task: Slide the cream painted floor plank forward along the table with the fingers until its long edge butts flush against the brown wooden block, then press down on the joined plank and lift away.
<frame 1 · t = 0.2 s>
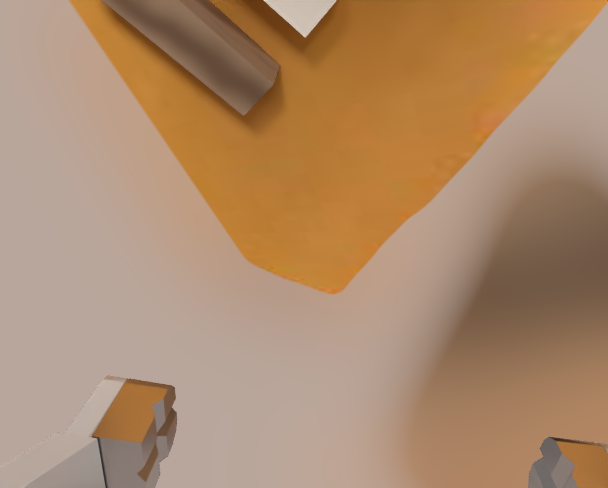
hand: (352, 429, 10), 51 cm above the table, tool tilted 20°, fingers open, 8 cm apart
brown wooden block: (193, 18, 55), on the table
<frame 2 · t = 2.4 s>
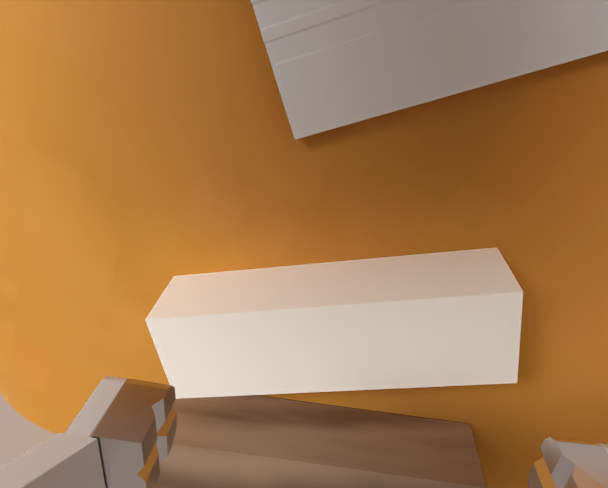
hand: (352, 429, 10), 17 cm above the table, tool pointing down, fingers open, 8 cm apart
brown wooden block: (315, 431, 35), on the table
cream floor plank: (333, 300, 30), on the table
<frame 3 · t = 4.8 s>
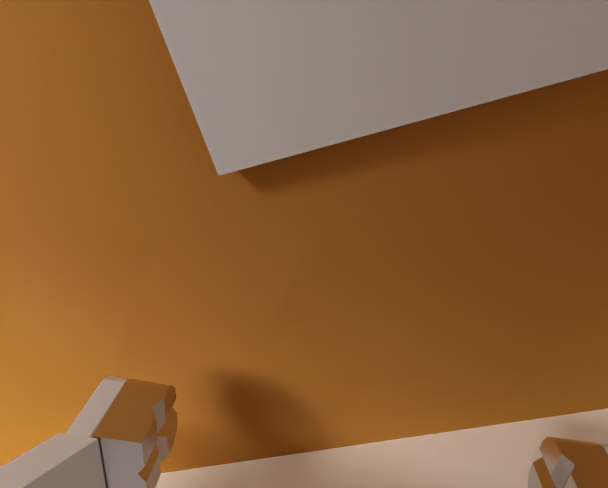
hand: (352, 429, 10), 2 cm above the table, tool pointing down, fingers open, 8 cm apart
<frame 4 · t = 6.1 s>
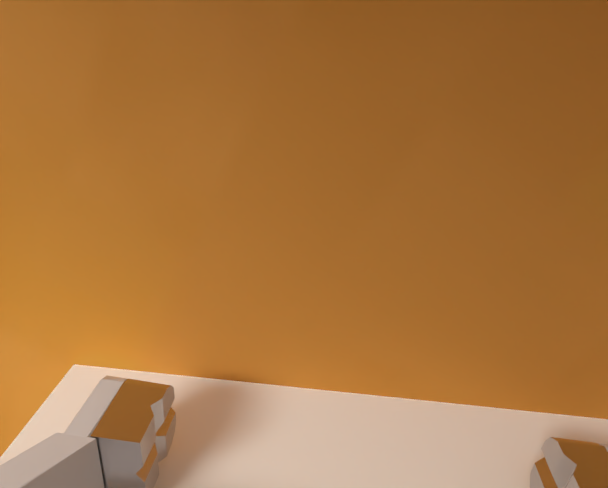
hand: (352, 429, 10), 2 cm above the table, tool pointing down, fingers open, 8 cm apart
cream floor plank: (409, 467, 14), on the table, touching gripper
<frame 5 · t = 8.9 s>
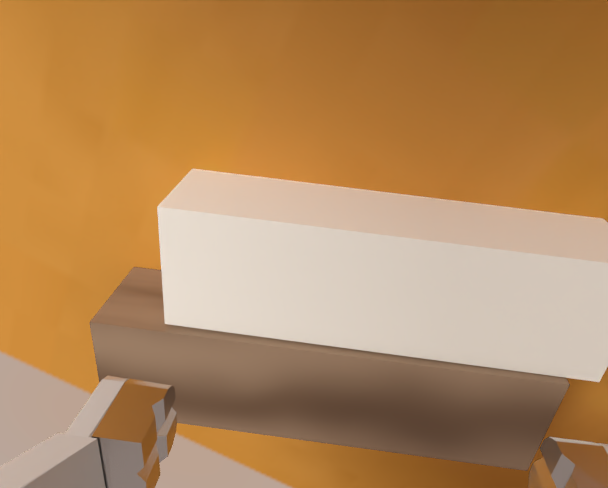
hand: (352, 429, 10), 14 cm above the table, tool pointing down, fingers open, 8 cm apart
brown wooden block: (323, 334, 27), on the table
cream floor plank: (383, 244, 24), on the table
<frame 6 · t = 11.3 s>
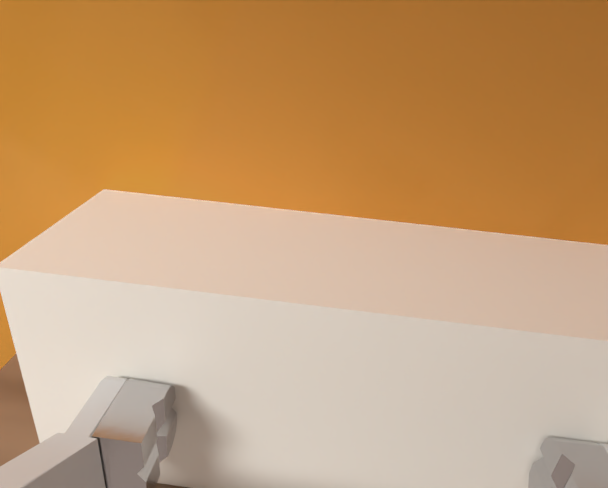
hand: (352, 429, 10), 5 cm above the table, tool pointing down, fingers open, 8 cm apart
brown wooden block: (331, 442, 17), on the table
cream floor plank: (428, 308, 15), on the table
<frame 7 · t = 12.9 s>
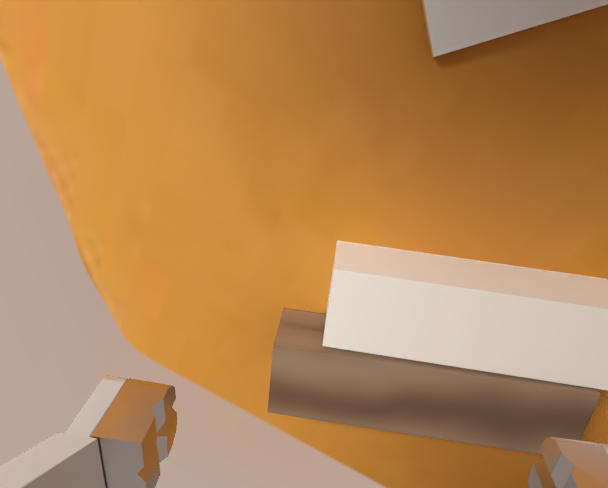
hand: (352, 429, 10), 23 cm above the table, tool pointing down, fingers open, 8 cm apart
brown wooden block: (416, 359, 37), on the table
cream floor plank: (464, 293, 35), on the table
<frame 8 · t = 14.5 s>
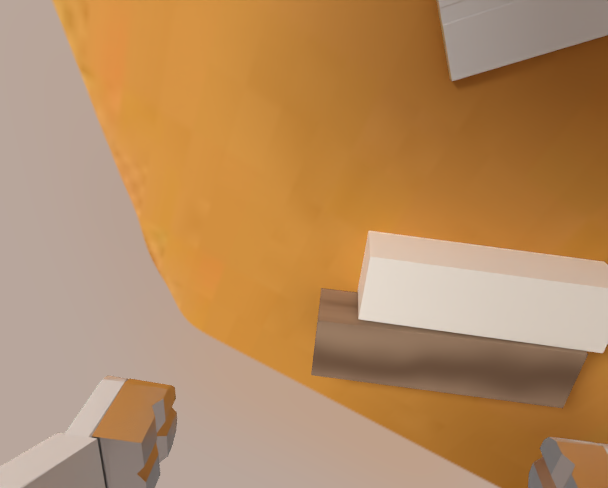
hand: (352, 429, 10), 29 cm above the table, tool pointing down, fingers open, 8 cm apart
brown wooden block: (433, 329, 44), on the table
cream floor plank: (475, 274, 41), on the table
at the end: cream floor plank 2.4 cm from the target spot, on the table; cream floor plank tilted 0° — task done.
